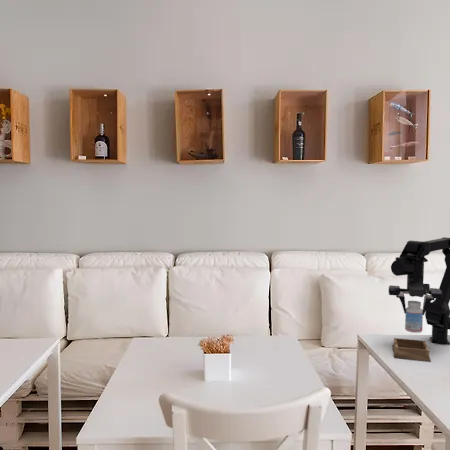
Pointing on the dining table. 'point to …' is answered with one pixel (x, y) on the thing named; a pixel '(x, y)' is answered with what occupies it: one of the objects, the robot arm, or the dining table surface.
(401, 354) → the walnut socket
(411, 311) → the pill bottle
